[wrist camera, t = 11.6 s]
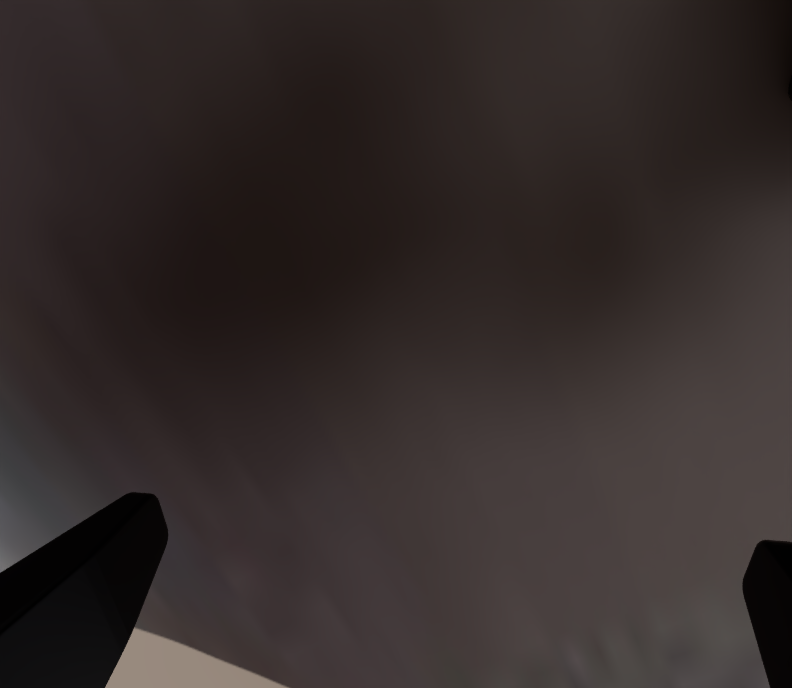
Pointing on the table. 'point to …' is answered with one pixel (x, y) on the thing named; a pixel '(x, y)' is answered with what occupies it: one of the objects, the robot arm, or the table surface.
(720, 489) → the table surface
